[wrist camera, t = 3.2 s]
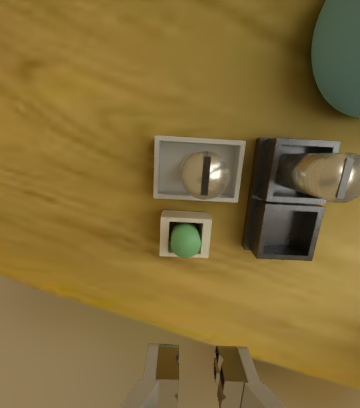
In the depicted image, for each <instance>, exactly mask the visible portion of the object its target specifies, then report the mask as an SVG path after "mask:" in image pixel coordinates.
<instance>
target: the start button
mask: <svg viewBox="0 0 360 408" xmlns="http://www.w3.org/2000/svg"><path fill="white" fill-rule="evenodd" d="M170 244H171V249H172V251H173V252H174V253H175V254H176V255H177V256H179V257H182V258H189V257H192V256H194V255H195V254H197V253H198V251H199V250H200V247H201V240H200V237H199V233H198V230H197V228H196V227H195V226H194V225H193V224H192V223H189V222H181V223H178V224H177V225H176V226H174V228H173V229H172V232H171V243H170Z"/></svg>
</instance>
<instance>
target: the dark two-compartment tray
mask: <svg viewBox="0 0 360 408" xmlns="http://www.w3.org/2000/svg"><path fill="white" fill-rule="evenodd" d="M340 143H341V142H338V141H321V140H305V139H288V138H273V139H271V138H258V139H257V141H256V148H255V155H254V161H253V168H252V175H251V182H250V189H249V196H248V203H247V210H246V217H245V224H244V231H243V238H242V247H243V248H244V250H251V251H252V253H253V254H254V255H255V257H256V258H259V259H281V260H304V261H312V258H313V254H314V250H315V246H316V242H317V238H318V234H319V230H320V226H321V221H322V217H323V213H324V209H325V207H323V206H321V205H318V204H326V201H327V200H324V199H321V198H318V197H315V196H311V195H308V194H305V193H302V192H298V191H295V190H292V189H289V188H285V187H282V186H280V185H278V184H277V183H276V182H275V179H276V174H277V168H278V162H279V158H280V157H282V156H283V155H286V154H290V153H338V151H339V147H340Z"/></svg>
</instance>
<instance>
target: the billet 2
mask: <svg viewBox="0 0 360 408" xmlns="http://www.w3.org/2000/svg"><path fill="white" fill-rule="evenodd" d="M275 182H276V183H277V184H278V185H280V186H282V187H285V188H289V189H292V190H295V191H298V192H302V193H305V194H308V195H311V196H315V197H318V198H321V199H324V200H328V201H331V202H335V203H345V202H348V201H351V200H353V199H355V198H356V197H358V196H359V195H360V155H358V154H355V153H290V154H286V155H283V156H282V157H280V158H279V162H278V168H277V174H276V179H275Z"/></svg>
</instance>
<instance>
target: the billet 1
mask: <svg viewBox="0 0 360 408" xmlns="http://www.w3.org/2000/svg"><path fill="white" fill-rule="evenodd" d="M180 172H181V178H182V183H183V186H184V188H185V189H186V191H187V192H188V193H189V194H190V195H191V196H193V197H195V198H197V199H202V200H208V199H213V198H215V197H217V196H219V195H220V194H221V193H222V192H223V191H224V190H225V188H226V187H227V185H228V182H229V178H230V172H229V167H228V165H227V163H226V161H225V160H224V159H223V158H222V157H221V156H220V155H218V154H216V153H214V152H208V151H204V152H196V153H191V154H189V155H187V156H186V157H185V158H184V159H183V161H182V163H181V167H180Z"/></svg>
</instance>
